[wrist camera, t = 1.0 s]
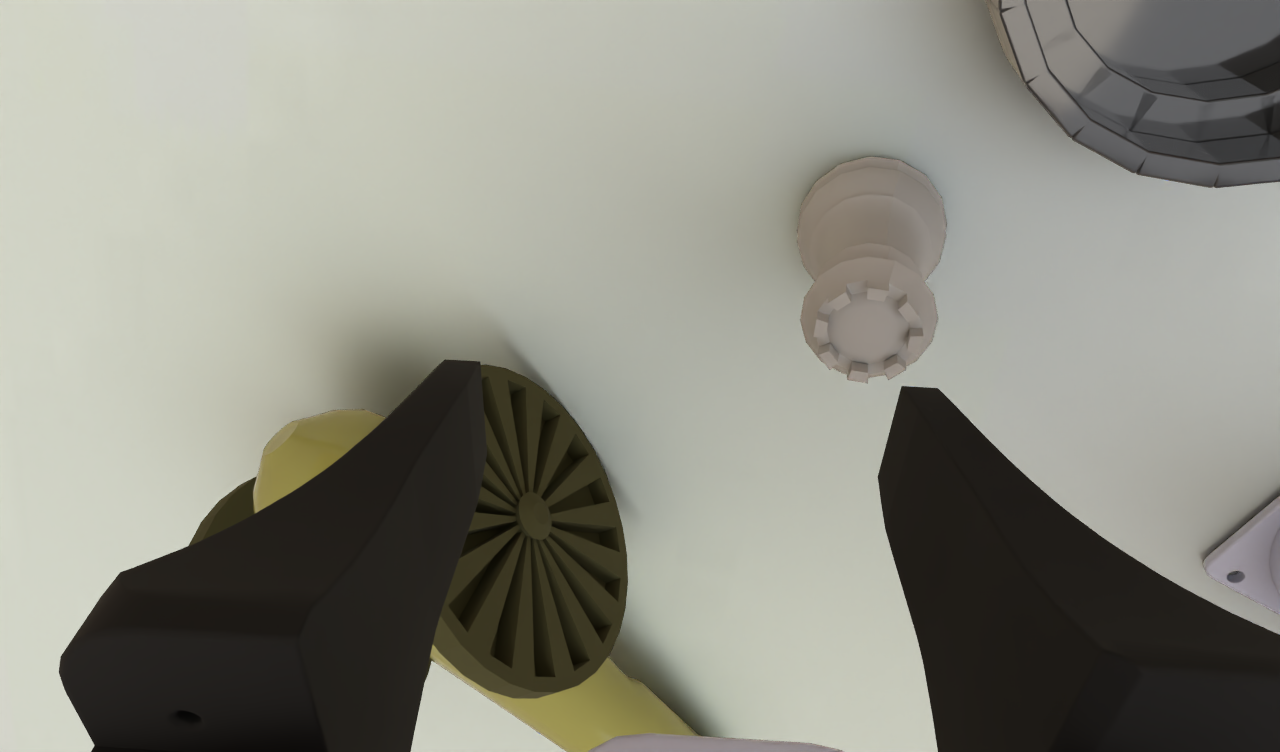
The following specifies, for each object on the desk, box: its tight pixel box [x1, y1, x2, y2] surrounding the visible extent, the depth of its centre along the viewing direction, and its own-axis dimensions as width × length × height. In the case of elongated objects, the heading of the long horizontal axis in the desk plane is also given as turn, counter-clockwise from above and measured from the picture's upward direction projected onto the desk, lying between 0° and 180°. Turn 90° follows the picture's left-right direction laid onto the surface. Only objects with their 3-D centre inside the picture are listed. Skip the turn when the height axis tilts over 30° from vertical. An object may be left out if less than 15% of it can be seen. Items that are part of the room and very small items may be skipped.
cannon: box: [189, 365, 699, 752], centre depth 34 cm, size 25×12×11 cm, turn 34°
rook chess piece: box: [797, 156, 947, 383], centre depth 24 cm, size 4×4×8 cm
